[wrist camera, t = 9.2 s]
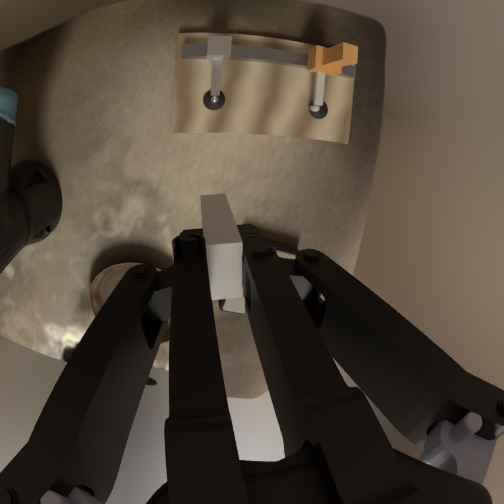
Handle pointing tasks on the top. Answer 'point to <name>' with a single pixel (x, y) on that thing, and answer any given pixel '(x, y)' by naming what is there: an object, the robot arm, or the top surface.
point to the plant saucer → (106, 285)
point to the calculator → (239, 303)
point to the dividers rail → (245, 58)
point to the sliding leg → (328, 66)
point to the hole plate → (258, 95)
